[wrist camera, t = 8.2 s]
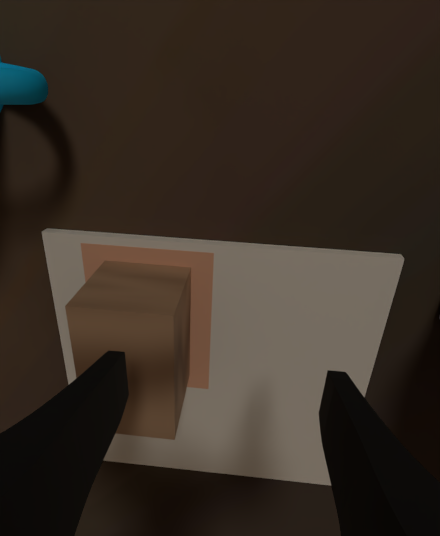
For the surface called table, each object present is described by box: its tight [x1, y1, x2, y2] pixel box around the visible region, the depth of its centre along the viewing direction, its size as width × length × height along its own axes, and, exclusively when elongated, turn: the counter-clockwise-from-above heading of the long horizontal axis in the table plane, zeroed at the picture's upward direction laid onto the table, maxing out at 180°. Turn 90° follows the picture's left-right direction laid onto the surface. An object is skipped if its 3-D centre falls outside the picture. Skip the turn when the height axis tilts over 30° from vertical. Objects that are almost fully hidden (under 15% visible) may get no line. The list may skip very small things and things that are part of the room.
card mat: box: [42, 228, 404, 485], centre depth 25 cm, size 20×19×1 cm
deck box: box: [65, 260, 191, 440], centre depth 21 cm, size 8×5×5 cm, turn 177°
